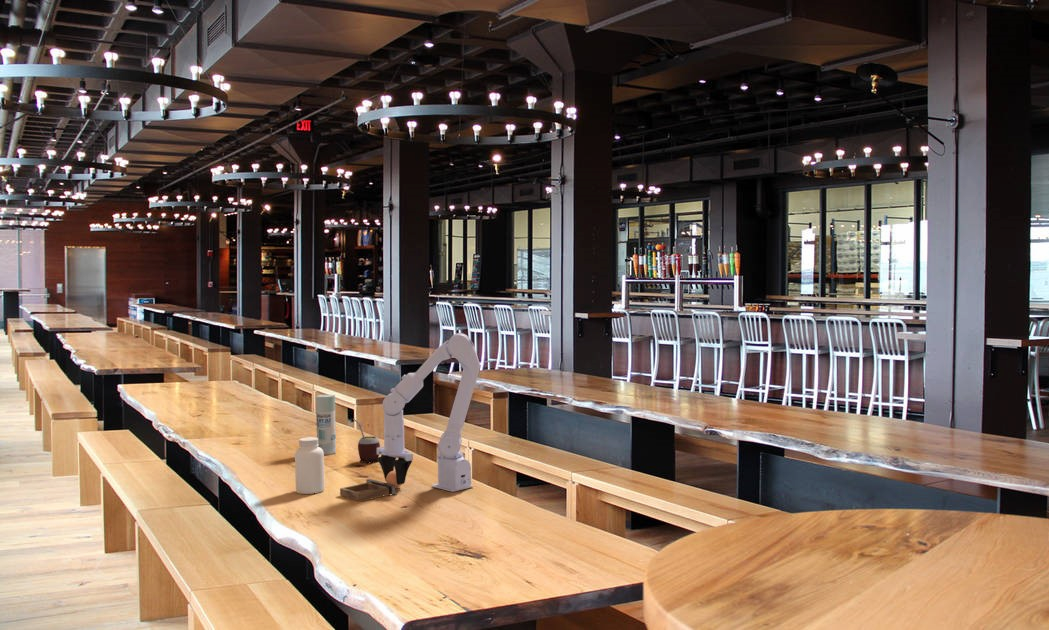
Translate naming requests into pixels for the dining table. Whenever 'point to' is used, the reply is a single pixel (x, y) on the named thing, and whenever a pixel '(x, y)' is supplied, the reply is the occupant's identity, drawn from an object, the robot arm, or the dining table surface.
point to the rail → (390, 486)
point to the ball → (392, 479)
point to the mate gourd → (368, 447)
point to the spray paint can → (326, 423)
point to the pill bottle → (309, 466)
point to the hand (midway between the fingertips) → (394, 482)
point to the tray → (364, 491)
